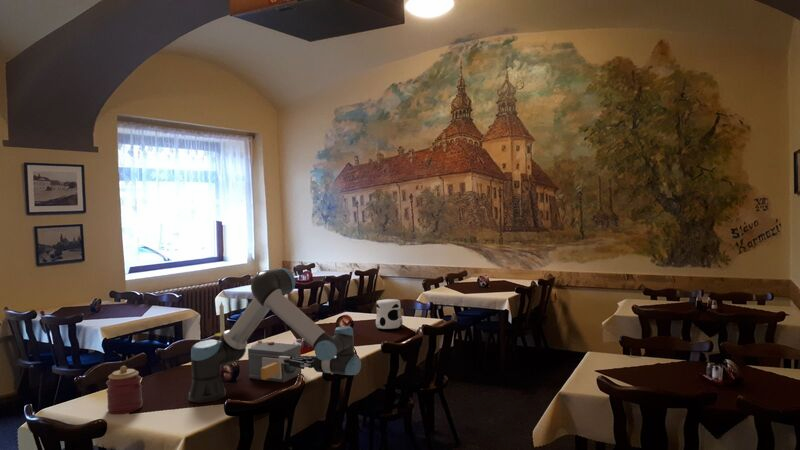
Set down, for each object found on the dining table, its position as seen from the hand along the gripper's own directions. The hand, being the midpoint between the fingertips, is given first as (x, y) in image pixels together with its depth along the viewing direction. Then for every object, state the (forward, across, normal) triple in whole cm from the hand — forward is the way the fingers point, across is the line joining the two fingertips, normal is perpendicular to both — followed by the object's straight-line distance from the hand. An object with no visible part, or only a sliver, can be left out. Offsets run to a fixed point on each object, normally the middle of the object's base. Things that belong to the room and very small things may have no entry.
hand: (279, 359), depth 249 cm
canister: (+48, -40, -14) cm, 64 cm away
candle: (+58, +28, -14) cm, 66 cm away
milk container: (+11, +128, -14) cm, 129 cm away
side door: (+12, +4, -12) cm, 17 cm away
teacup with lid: (+39, +36, -14) cm, 55 cm away
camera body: (+17, +18, -14) cm, 28 cm away
